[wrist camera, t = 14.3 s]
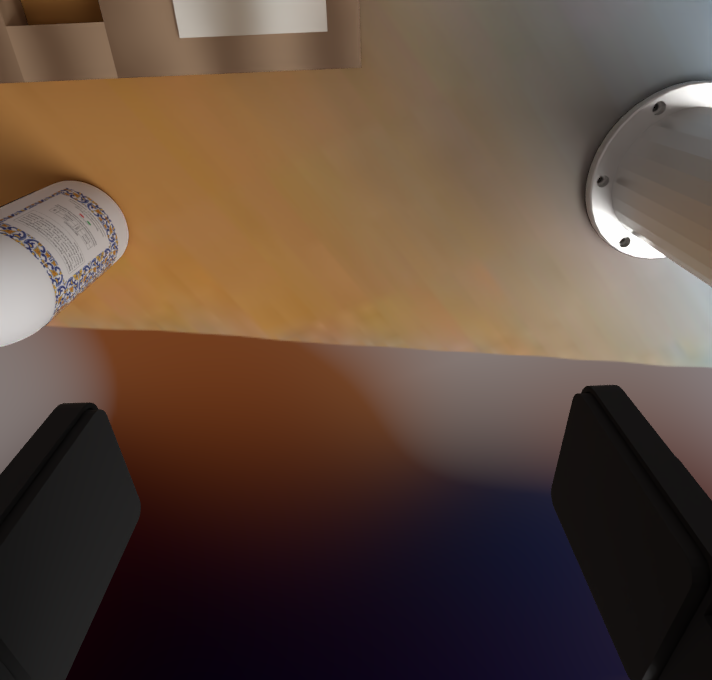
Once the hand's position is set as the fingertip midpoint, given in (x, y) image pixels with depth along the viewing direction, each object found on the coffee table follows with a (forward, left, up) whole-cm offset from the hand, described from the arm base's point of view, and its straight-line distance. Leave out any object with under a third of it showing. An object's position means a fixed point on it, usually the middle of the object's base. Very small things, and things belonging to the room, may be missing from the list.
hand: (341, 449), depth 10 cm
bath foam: (+21, +4, -31) cm, 37 cm away
